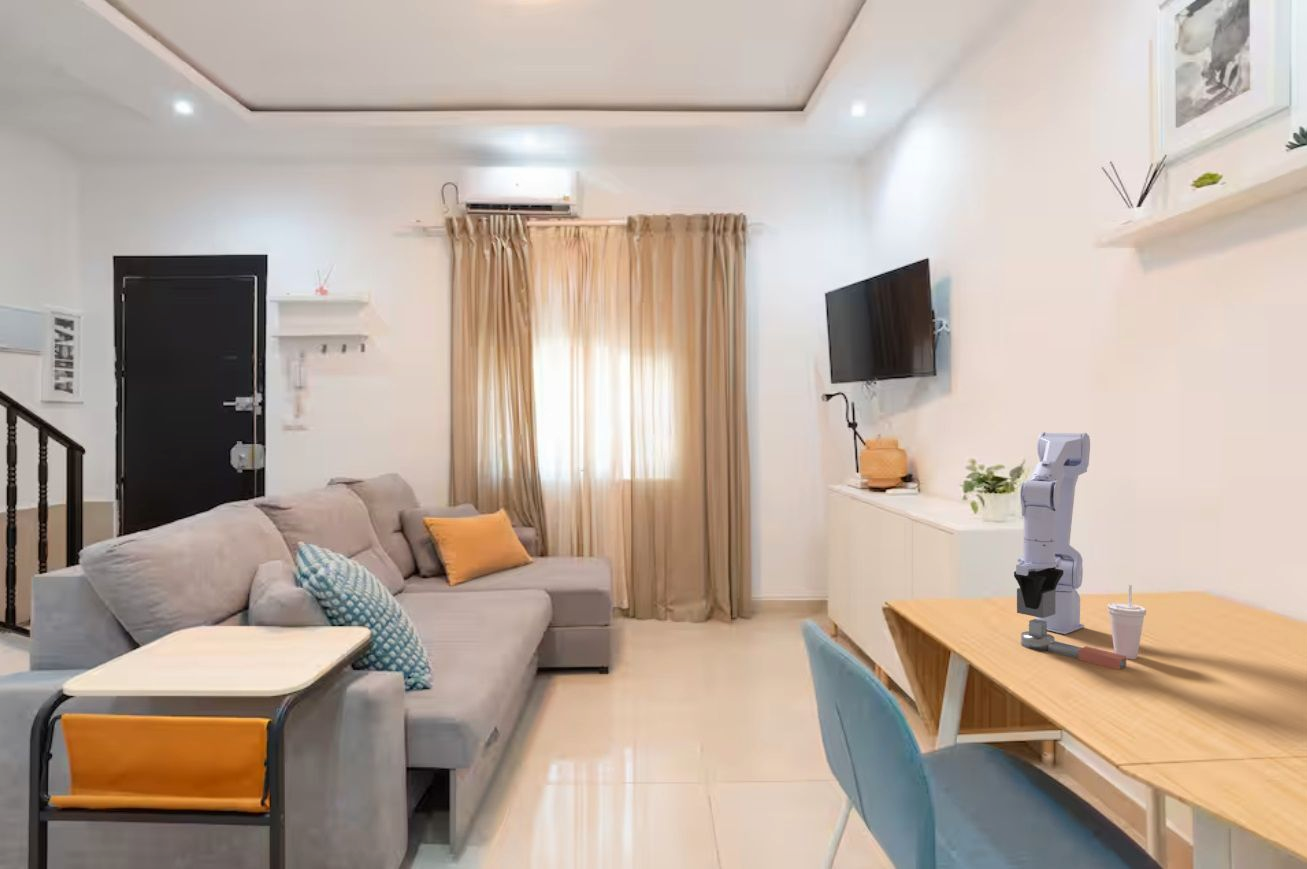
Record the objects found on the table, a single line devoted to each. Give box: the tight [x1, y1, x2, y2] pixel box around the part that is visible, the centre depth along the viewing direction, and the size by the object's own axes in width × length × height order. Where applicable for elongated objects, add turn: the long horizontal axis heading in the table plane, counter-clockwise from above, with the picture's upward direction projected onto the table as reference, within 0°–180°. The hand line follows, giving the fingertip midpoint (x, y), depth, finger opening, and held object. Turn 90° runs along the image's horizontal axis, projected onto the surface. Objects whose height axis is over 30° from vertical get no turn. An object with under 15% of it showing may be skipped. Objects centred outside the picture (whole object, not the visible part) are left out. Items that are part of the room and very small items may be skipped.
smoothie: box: [1106, 584, 1147, 660], centre depth 139 cm, size 6×6×14 cm
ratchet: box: [1020, 618, 1127, 671], centre depth 140 cm, size 18×6×5 cm, turn 36°
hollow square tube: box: [1016, 587, 1055, 618], centre depth 145 cm, size 5×5×5 cm
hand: (1038, 605), depth 145 cm, fingers closed on hollow square tube, 5 cm apart
